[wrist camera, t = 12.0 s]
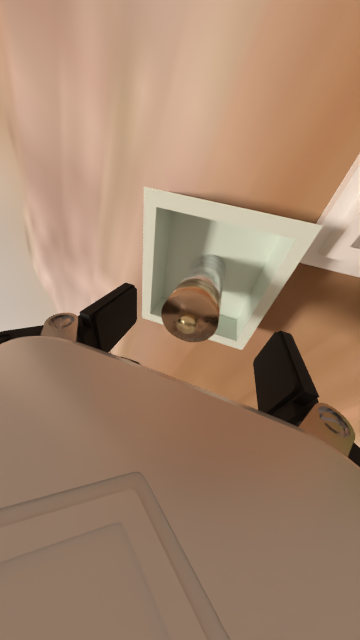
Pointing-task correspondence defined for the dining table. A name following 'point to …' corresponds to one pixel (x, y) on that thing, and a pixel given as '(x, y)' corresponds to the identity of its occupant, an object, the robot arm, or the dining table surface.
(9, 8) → the dining table surface
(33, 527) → the robot arm
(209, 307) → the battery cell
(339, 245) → the checker cradle
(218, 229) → the white open box
